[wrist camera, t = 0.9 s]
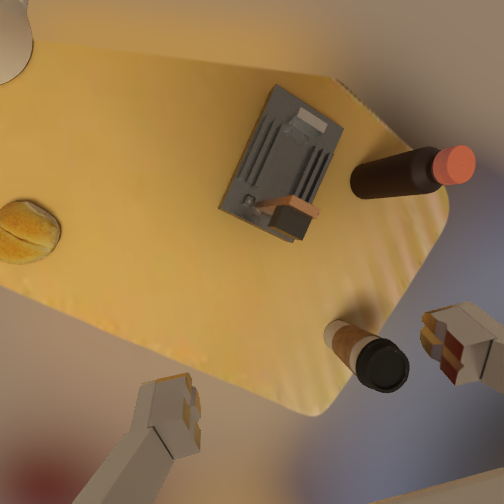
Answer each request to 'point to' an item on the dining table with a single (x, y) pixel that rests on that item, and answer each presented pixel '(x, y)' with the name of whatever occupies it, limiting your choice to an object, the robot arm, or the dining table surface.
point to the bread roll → (26, 233)
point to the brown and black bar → (289, 215)
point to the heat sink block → (281, 158)
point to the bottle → (413, 172)
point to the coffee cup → (368, 356)
